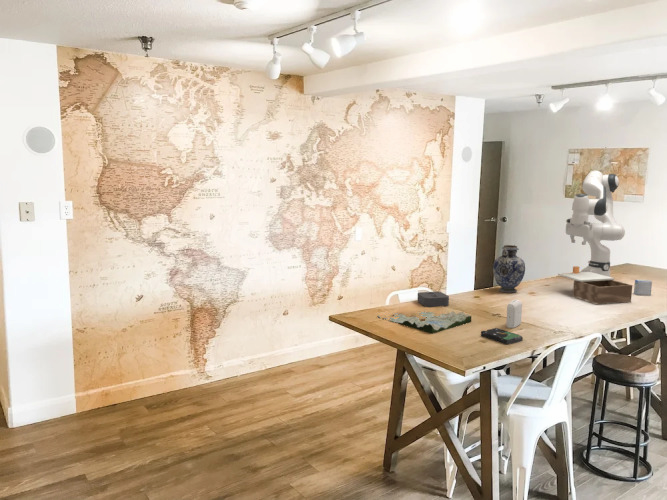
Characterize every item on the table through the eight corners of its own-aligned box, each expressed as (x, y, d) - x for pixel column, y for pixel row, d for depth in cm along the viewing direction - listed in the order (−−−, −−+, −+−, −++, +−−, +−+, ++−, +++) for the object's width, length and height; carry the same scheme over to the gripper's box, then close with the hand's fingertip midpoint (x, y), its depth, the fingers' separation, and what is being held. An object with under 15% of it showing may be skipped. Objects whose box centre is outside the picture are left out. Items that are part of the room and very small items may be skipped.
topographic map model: (376, 318, 266) (377, 309, 265) (416, 309, 284) (416, 300, 283) (432, 335, 238) (432, 324, 238) (471, 323, 257) (471, 313, 256)
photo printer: (513, 328, 246) (515, 303, 244) (505, 327, 248) (506, 301, 247) (522, 324, 253) (523, 298, 252) (513, 322, 256) (514, 297, 254)
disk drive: (480, 337, 235) (507, 346, 223) (480, 331, 235) (507, 339, 223) (495, 333, 241) (523, 341, 229) (495, 327, 241) (523, 335, 228)
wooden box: (572, 296, 309) (573, 280, 307) (604, 294, 314) (605, 278, 313) (597, 304, 290) (598, 287, 288) (630, 302, 295) (632, 285, 293)
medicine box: (647, 293, 315) (648, 279, 314) (651, 295, 311) (652, 281, 309) (633, 293, 316) (634, 279, 315) (636, 295, 311) (638, 280, 310)
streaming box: (415, 301, 299) (416, 292, 298) (439, 300, 302) (439, 291, 301) (425, 307, 285) (425, 298, 284) (450, 306, 288) (450, 297, 287)
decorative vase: (498, 285, 337) (500, 242, 333) (527, 289, 327) (531, 245, 322) (486, 292, 320) (489, 246, 316) (517, 296, 310) (520, 249, 305)
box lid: (557, 275, 321) (558, 267, 320) (589, 273, 326) (590, 265, 326) (581, 281, 301) (581, 273, 301) (614, 279, 307) (614, 271, 306)
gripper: (596, 222, 308) (595, 245, 310) (573, 219, 327) (571, 241, 330) (587, 222, 306) (585, 246, 308) (564, 219, 326) (562, 241, 328)
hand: (578, 243), depth 319 cm, fingers open, 8 cm apart
